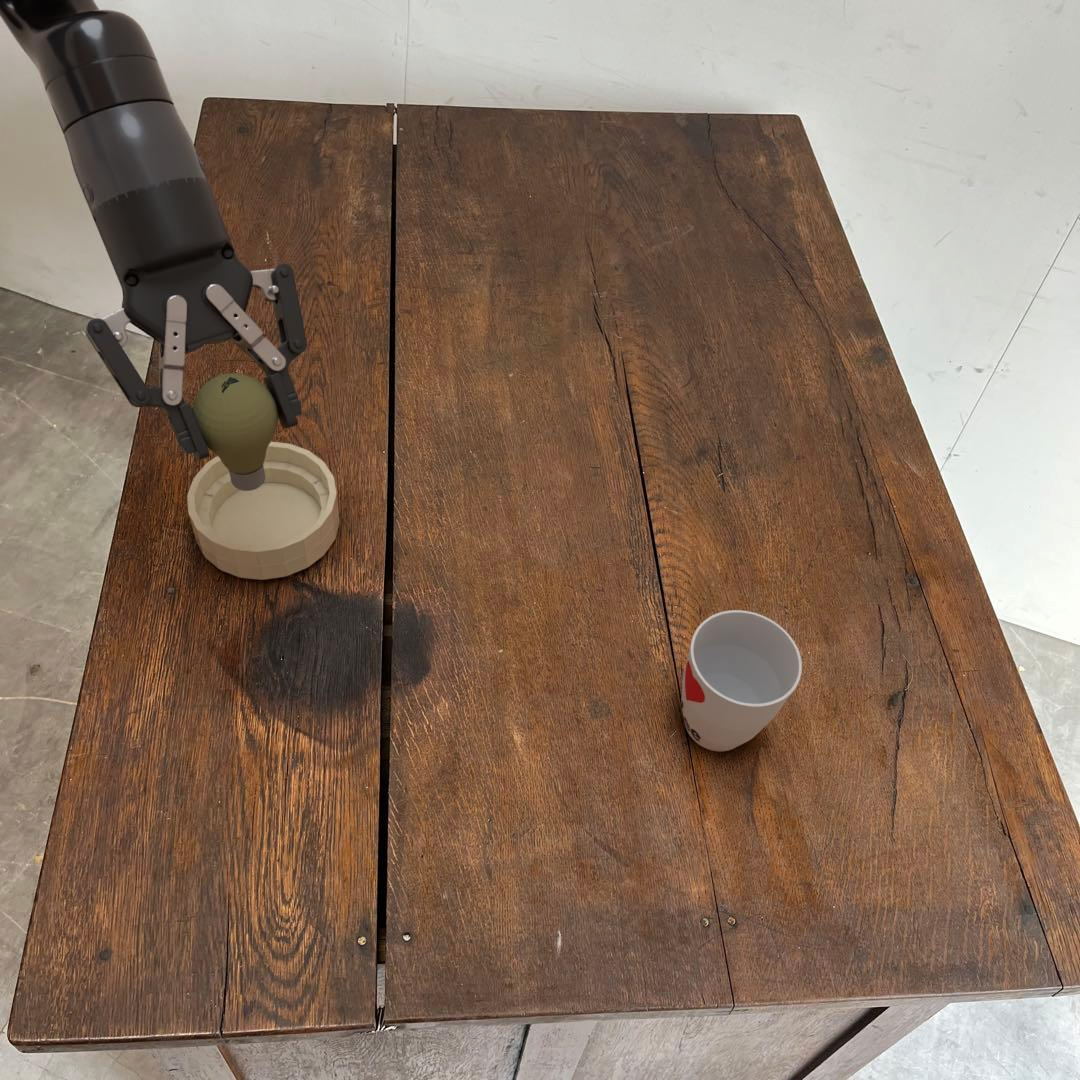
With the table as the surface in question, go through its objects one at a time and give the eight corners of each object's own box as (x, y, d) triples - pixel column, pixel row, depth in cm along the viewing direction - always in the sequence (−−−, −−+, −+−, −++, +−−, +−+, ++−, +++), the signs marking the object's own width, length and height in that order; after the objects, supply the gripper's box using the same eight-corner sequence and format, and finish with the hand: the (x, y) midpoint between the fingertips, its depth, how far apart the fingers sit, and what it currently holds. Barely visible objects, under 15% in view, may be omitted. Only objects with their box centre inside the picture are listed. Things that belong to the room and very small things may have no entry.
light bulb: (220, 452, 77) (197, 351, 69) (295, 460, 77) (281, 360, 69) (200, 509, 73) (174, 409, 65) (279, 518, 74) (262, 419, 66)
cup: (673, 668, 85) (697, 599, 77) (770, 691, 84) (805, 624, 76) (659, 755, 80) (683, 691, 72) (762, 780, 79) (798, 717, 71)
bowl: (228, 604, 85) (219, 572, 82) (176, 505, 91) (166, 471, 88) (362, 549, 90) (360, 517, 86) (305, 458, 96) (300, 424, 92)
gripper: (245, 181, 72) (331, 410, 76) (33, 234, 66) (137, 479, 70) (266, 151, 65) (360, 404, 69) (32, 208, 60) (147, 480, 63)
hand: (247, 441), depth 69 cm, fingers closed on light bulb, 5 cm apart
